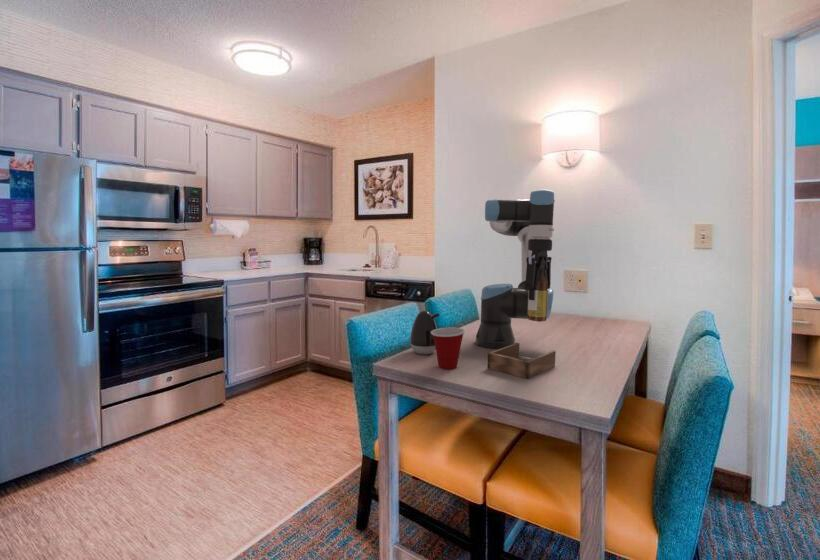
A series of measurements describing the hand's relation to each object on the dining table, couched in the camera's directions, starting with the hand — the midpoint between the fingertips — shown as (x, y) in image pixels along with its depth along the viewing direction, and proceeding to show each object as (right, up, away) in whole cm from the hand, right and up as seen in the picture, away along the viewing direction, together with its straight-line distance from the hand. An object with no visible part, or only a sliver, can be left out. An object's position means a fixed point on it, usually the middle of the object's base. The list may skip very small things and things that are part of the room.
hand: (537, 308), depth 139 cm
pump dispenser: (-37, -17, +12) cm, 42 cm away
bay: (-6, -19, -4) cm, 20 cm away
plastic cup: (-30, -19, -4) cm, 36 cm away
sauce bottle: (0, -4, 0) cm, 4 cm away
